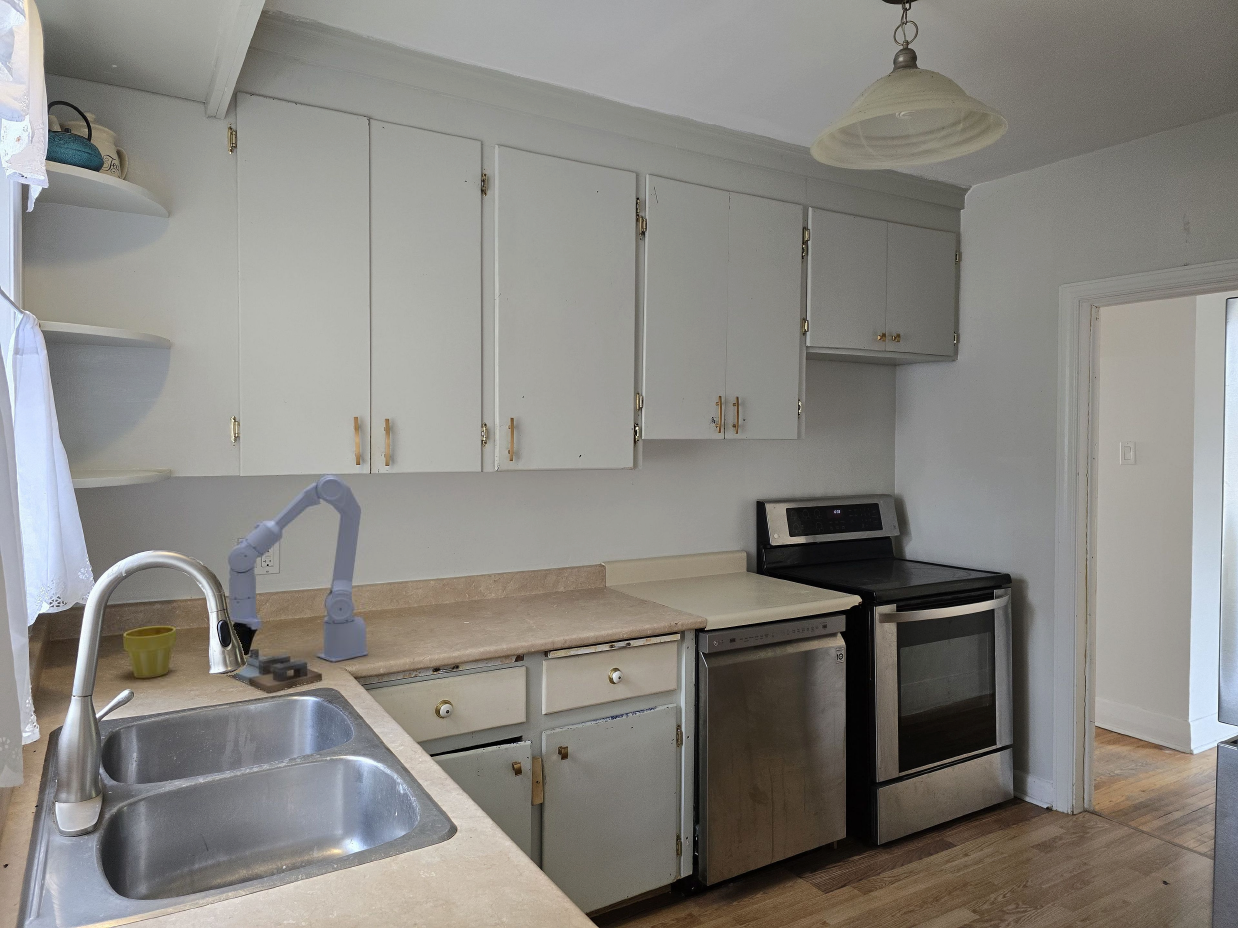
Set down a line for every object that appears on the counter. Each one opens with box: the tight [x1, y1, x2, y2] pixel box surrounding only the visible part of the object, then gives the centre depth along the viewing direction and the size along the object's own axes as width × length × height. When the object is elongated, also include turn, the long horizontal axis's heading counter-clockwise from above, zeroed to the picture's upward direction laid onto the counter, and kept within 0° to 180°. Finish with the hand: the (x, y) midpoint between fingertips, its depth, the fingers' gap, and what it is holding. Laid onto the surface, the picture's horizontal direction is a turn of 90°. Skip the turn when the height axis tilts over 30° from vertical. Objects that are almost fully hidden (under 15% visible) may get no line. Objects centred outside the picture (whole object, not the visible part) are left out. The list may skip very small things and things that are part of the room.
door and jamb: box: [229, 654, 323, 694], centre depth 185 cm, size 12×22×4 cm, turn 49°
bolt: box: [246, 648, 281, 673], centre depth 187 cm, size 2×11×3 cm, turn 49°
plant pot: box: [122, 625, 177, 679], centre depth 186 cm, size 10×10×10 cm
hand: (243, 655), depth 194 cm, fingers closed
